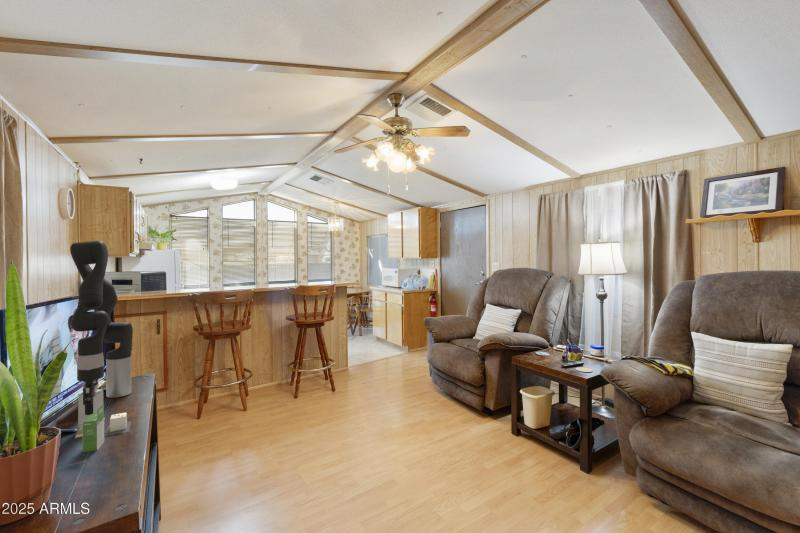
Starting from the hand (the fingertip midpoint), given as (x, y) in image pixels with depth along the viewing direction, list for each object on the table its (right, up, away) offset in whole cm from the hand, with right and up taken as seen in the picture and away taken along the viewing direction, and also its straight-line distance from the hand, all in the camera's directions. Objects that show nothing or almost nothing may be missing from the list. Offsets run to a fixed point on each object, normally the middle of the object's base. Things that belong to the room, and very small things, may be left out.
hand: (90, 410), depth 135 cm
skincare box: (0, -5, 0) cm, 5 cm away
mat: (+10, -7, 0) cm, 12 cm away
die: (+10, -7, 0) cm, 12 cm away
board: (0, -7, 0) cm, 7 cm away
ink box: (+12, -7, -13) cm, 19 cm away
